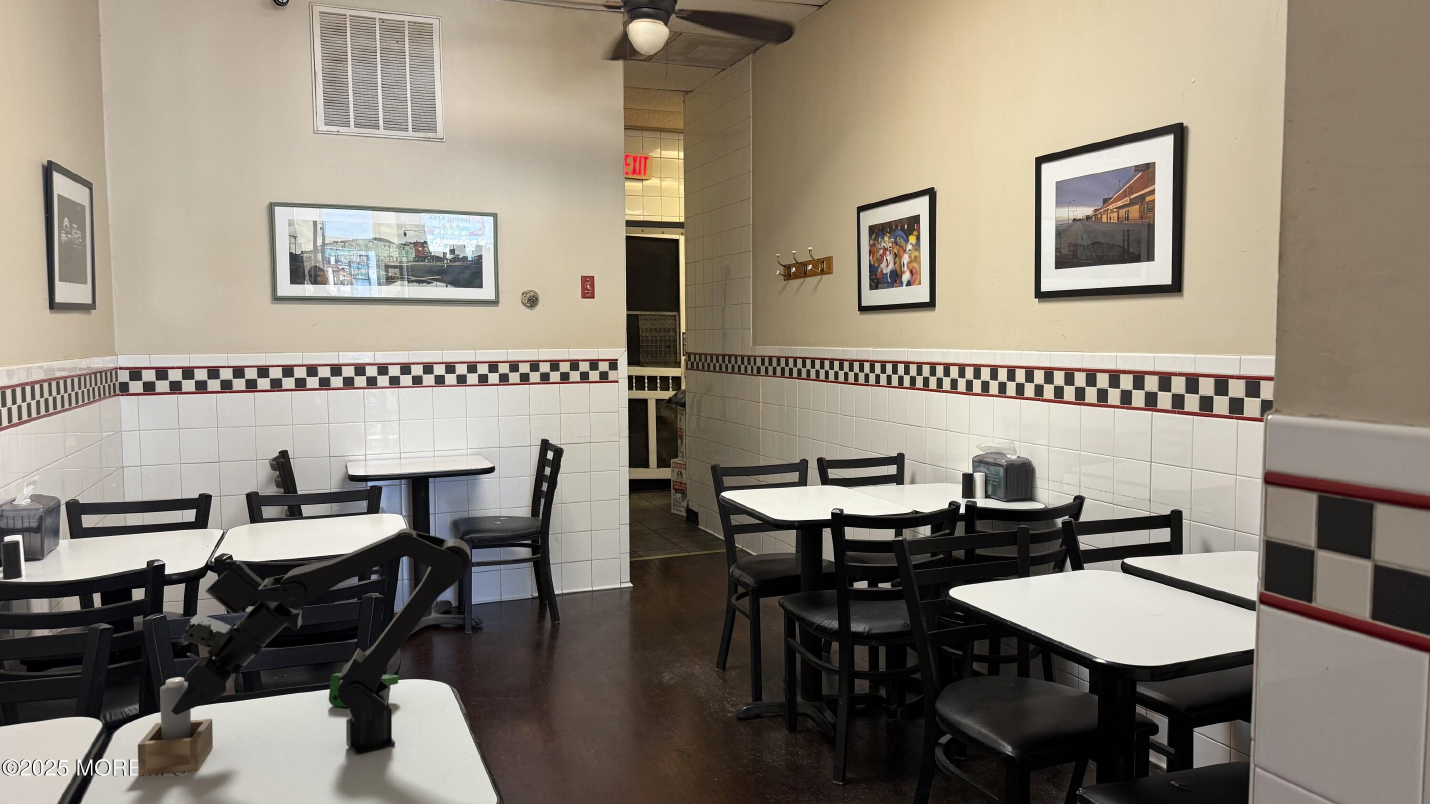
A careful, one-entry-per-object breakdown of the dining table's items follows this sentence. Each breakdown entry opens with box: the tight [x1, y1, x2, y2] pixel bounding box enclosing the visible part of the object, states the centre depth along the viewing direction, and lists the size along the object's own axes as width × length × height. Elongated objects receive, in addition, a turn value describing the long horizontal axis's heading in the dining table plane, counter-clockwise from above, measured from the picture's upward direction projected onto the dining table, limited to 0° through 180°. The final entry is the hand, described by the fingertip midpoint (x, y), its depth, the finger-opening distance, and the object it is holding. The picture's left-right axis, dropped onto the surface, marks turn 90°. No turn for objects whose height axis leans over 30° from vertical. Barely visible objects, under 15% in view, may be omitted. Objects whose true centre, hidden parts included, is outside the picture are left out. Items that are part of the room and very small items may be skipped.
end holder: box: [137, 718, 214, 776], centre depth 150 cm, size 8×8×5 cm
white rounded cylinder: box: [159, 676, 192, 740], centre depth 150 cm, size 4×4×12 cm
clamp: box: [328, 672, 400, 708], centre depth 176 cm, size 12×6×9 cm, turn 74°
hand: (182, 701), depth 150 cm, fingers open, 9 cm apart
